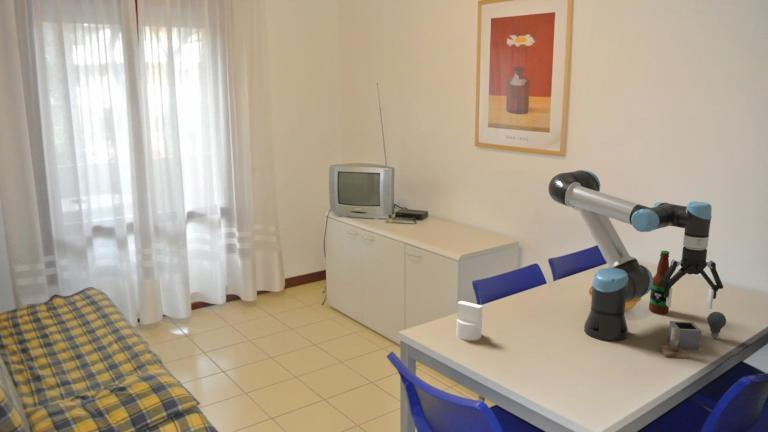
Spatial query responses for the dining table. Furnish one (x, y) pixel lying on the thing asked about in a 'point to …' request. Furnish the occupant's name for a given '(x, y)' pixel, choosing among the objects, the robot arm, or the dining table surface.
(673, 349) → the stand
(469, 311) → the base with upright slab
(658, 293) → the bottle
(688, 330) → the collar
